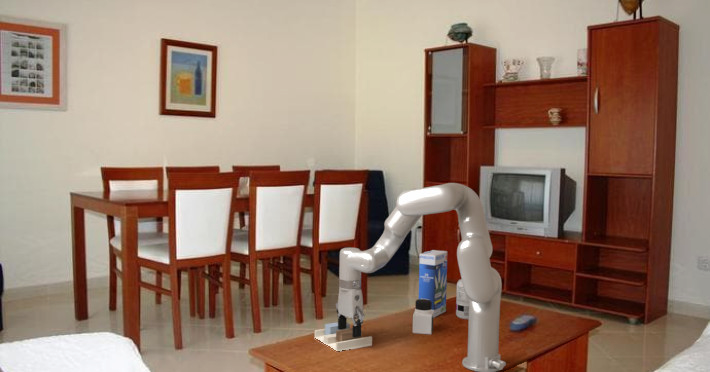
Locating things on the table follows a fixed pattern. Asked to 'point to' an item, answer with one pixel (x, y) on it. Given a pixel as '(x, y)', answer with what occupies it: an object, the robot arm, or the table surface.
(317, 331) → the slot board
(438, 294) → the string lights box
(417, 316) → the medicine bottle
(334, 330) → the slate bar
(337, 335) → the walnut bar
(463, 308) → the supplement can
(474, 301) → the robot arm
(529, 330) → the table surface
